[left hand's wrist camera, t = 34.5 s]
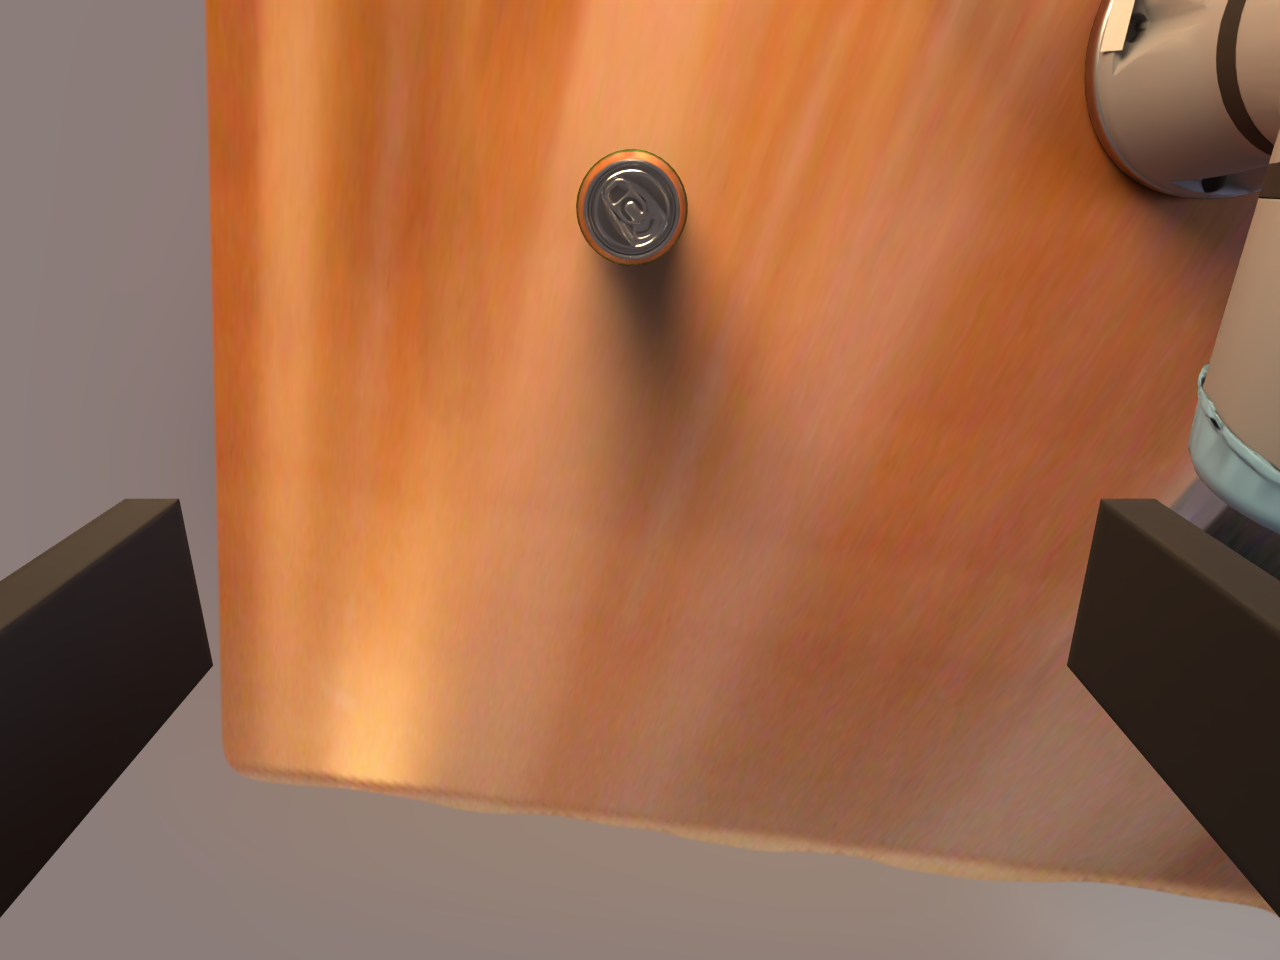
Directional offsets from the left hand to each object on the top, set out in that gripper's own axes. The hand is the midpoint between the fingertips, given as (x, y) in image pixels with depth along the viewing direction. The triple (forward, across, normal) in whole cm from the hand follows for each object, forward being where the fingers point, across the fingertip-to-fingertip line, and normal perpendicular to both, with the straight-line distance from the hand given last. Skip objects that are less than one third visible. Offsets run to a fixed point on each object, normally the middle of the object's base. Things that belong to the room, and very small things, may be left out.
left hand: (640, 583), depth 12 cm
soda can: (+41, 0, +4) cm, 41 cm away
